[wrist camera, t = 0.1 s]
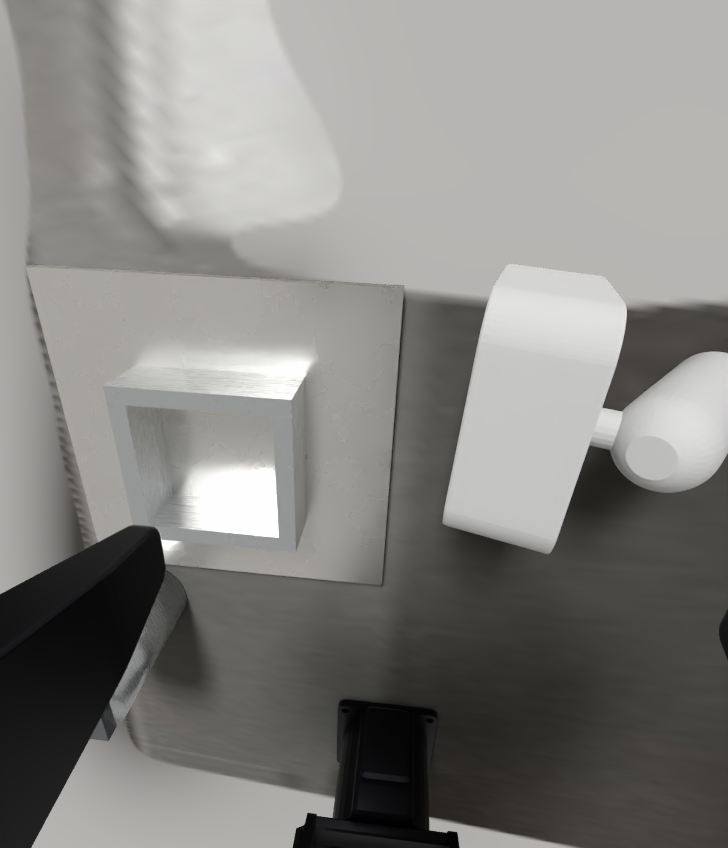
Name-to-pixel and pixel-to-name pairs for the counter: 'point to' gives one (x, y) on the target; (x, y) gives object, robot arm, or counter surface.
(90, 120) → the counter surface
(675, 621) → the counter surface
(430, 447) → the counter surface
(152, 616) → the sleeve
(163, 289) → the duct socket
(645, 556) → the counter surface
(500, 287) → the grey rounded block
